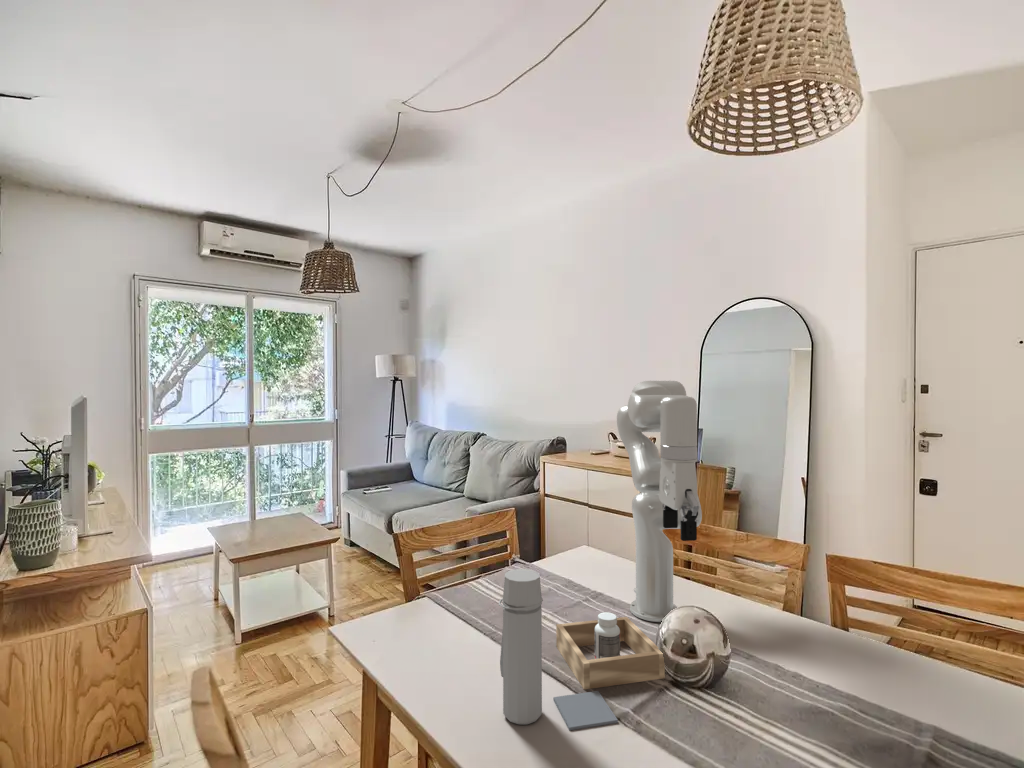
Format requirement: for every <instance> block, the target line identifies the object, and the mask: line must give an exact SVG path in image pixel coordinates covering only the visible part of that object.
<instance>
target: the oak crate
mask: <svg viewBox="0 0 1024 768" xmlns="http://www.w3.org/2000/svg"><path fill="white" fill-rule="evenodd" d="M597 624H598V619H595V620H594V619H593V620H586V621H585V620H584V621H575V622H568V623H557V624H555V626H556V627H555V628H556V629H555V630H556V633H555V634H556V637H555V639H556V641H555V642H556V643H555V645H556V646H555V647H556V648H557V650H558V652H559V653H560V655H561V656H562V658H563V660H564V661H565V663H566V664H567V666H568V667H569V668H570V671H571V672H572V674H573V675H574V677H575V678H576V680H577V681H578V682H579V684H580V686H581V688H582V689H583V690H590V689H599V688H605V687H612V686H618V685H627V684H634V683H639V682H646V681H647V682H648V681H655V680H664V679H666V675H665V674H666V673H665V669H666V666H665V665H666V663H664V657H663V653H662V652H661V651H660V650H659V649H658V648H659V647H658V645H656V644H655V642H654V641H652V640H651V639H650V638H649V637H648V635H647V634H646V633H644V632H643V631H642V630H641V629H640V628H639V627H638V626H637V625H636V624H635V623H634V622H633V621H631V619H630V618H629V617H627V616H621V617H617V624H616V625H617V626H618V627H619V629H620V643H622V642H624V643H625V644H626V645H627V646H628V647H630V649H631V650H632V651H633V652H634V653H633V654H632V653H630V654H624V655H623V654H622V655H620V656H615V657H607V658H599V659H595V658H593V659H587V657H586V656H585V654H584V653H583V651H582V650H581V649H580V648H581V647H584V646H585V647H587V646H595V626H596V625H597Z"/></svg>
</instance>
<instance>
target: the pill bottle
mask: <svg viewBox="0 0 1024 768" xmlns="http://www.w3.org/2000/svg"><path fill="white" fill-rule="evenodd" d="M617 618H618V617H617V615H616V614H614V613H612V612H608V611H607V612H600V613H599V614H598V615H597V620H598V624H597V625H596V626H595V645H594V659H599V658H607V657H615V656H621V642H620V629H619V627H618V626H617V625H616V624H617Z"/></svg>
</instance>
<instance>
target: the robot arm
mask: <svg viewBox="0 0 1024 768" xmlns="http://www.w3.org/2000/svg"><path fill="white" fill-rule="evenodd" d="M697 406H698V404H697V400H696V398H694V397H692V396H688V395H687V391H686V388H685V386H684V385H683V384H682V383H681V382H680V381H678V380H645V381H644V380H643V381H640V382H639V383H637V384H636V385H635V386H633V389H632V391H631V394H630V395H629V397H628V401H627V405H623V406H622V407H620V408H619V409H618V411H617V413H616V425H617V432H618V434H619V437H620V438H619V439H620V440H621V442H622V444H623V446H624V448H625V450H626V452H627V454H628V460H629V467H630V472H631V477H632V483H633V485H634V487H635V490H637V492H639V493H637V494H636V495H634V497H633V498H632V501H631V510H632V511H631V512H632V518H633V524H634V525H633V526H634V535H635V536H634V537H635V587H634V589H633V592H634V593H635V600H633V601H632V602H631V603H630V604H629V605H630V606H629V611H630V612H631V614H633V616H635V617H637V618H639V619H641V620H644V621H648V622H652V623H653V622H654V623H662V622H661V621H662V619H663V618H664V617H665V616H666V615H667V614H668V613H669V612H670V611H671V610H673V609H675V608H677V607H678V606H677V605H676V604H674V548H673V547H674V546H673V543H672V542H671V540H670V538H669V537H668V536H667V535H666V534H665V533H664V532H663V530H669V529H670V530H680V541H682V542H683V541H684V542H693V541H697V540H698V536H697V535H698V532H697V528H698V527H699V526H700V525H701V522H702V519H703V518H702V517H703V511H702V506H701V502H700V498H699V495H698V479H697V468H696V467H697V466H696V463H697V462H698V415H697V414H698V407H697ZM643 433H660V439H659V440H660V441H659V442H660V444H659V445H660V453H659V449H658V446H657V445H656V444H655V442H653V441H652V440H651V439H650V437H648V436H647V435H645V434H643Z"/></svg>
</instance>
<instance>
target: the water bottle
mask: <svg viewBox="0 0 1024 768" xmlns="http://www.w3.org/2000/svg"><path fill="white" fill-rule="evenodd" d="M543 601H544V599H543V596H542V587H541V575H540V573H539V572H538V571H536V570H533V569H528V568H516V569H510V570H508V571H507V572H505V573H504V581H503V592H502V597H501V599H499V601H498V606H499V607H501V608H502V630H501V631H502V635H501V645H500V659H499V666H500V670H499V671H500V676H501V678H502V683H503V684H502V692H503V693H502V697H503V698H502V700H503V701H502V705H503V706H502V707H503V708H502V712H503V715H504V717H505V718H506V719H507V720H508V721H509V722H510V723H513V724H516V725H530V724H532V723H535V722H536V721H538V719H539V718H540V717H541V716H542V714H543V679H542V677H543V672H542V671H543V667H542V666H543V663H542V661H543V657H542V654H543V652H542V651H543V649H542V648H543V647H542V645H543V643H542V641H543V638H542V637H543V634H542V633H543V631H542V630H543V629H542V623H543V621H542V618H543V616H542V614H543V613H542V604H543ZM501 602H502V604H501Z"/></svg>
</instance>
